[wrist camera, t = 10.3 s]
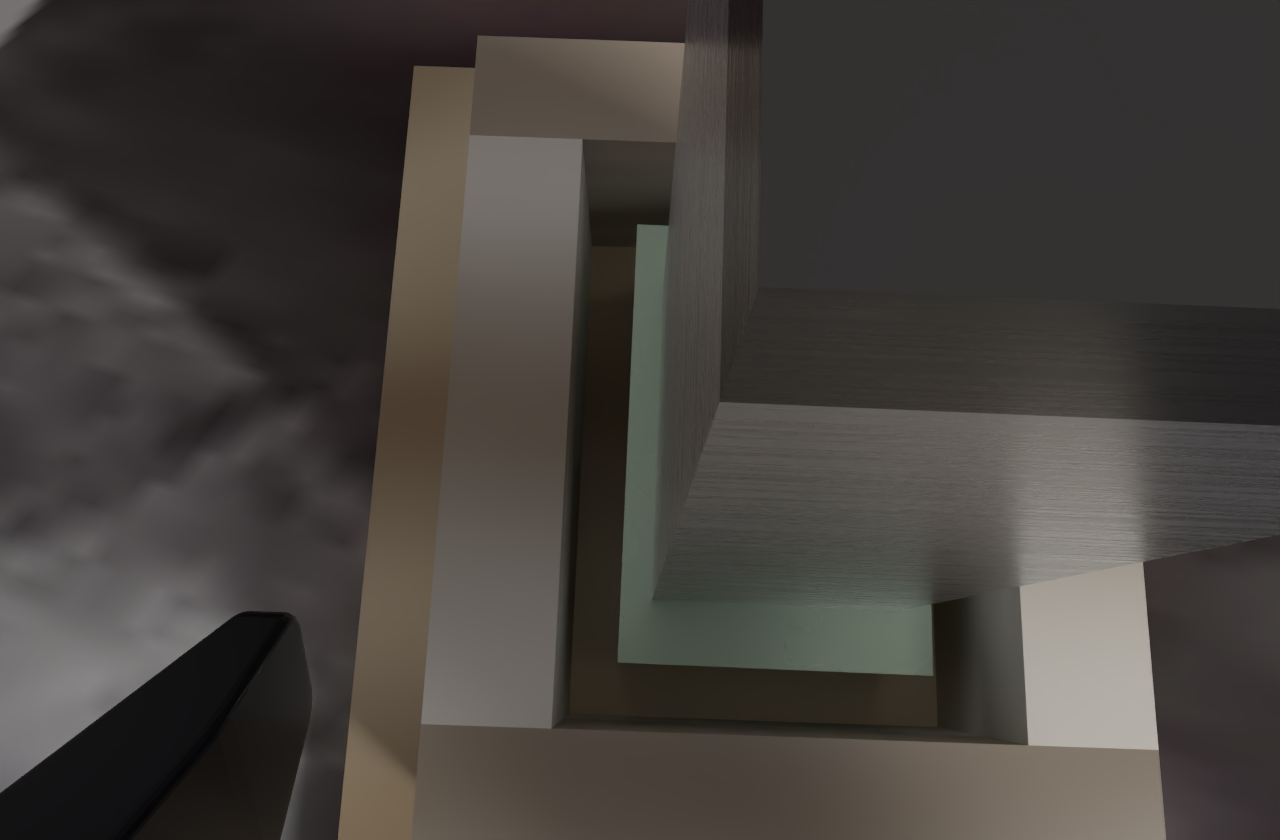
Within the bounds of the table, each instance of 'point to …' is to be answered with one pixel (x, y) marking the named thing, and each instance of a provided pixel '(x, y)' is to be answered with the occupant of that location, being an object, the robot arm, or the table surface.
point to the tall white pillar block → (947, 317)
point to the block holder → (593, 545)
